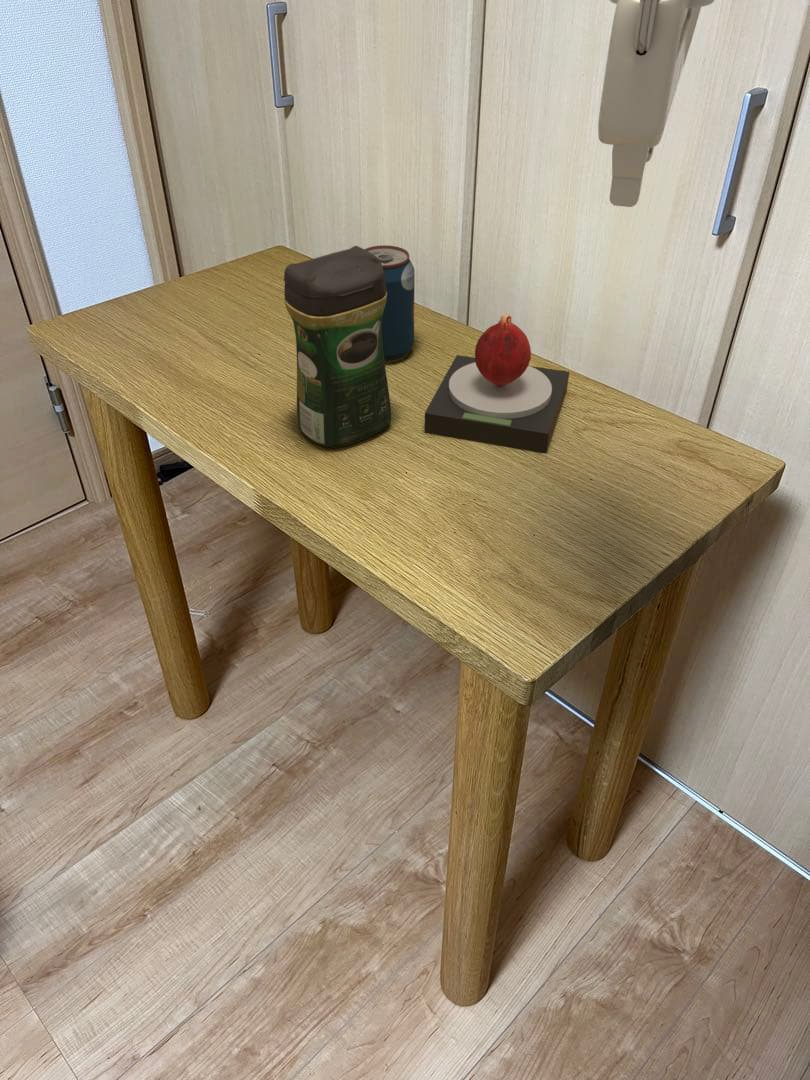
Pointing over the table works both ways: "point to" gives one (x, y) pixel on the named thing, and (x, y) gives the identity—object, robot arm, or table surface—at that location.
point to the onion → (502, 352)
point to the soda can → (397, 301)
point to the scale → (498, 406)
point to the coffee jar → (339, 346)
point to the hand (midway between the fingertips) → (631, 180)
